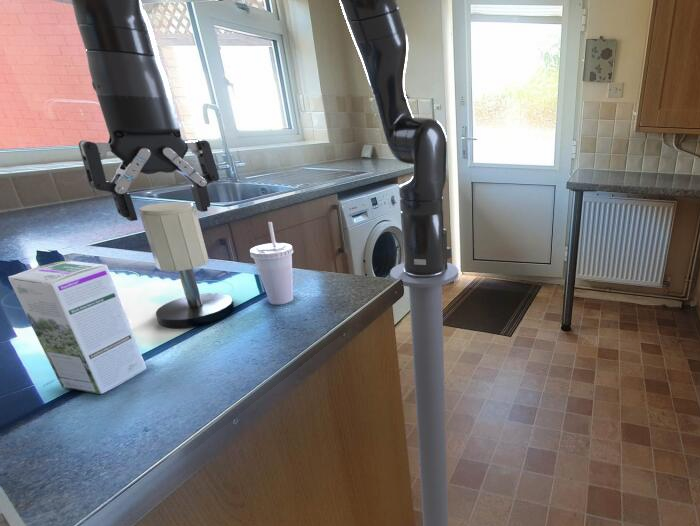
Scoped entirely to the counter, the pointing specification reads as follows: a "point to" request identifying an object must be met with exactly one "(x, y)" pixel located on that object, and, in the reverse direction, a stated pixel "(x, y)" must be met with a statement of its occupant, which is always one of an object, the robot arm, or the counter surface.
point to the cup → (174, 235)
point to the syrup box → (80, 324)
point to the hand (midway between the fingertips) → (169, 215)
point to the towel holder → (194, 306)
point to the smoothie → (275, 269)
